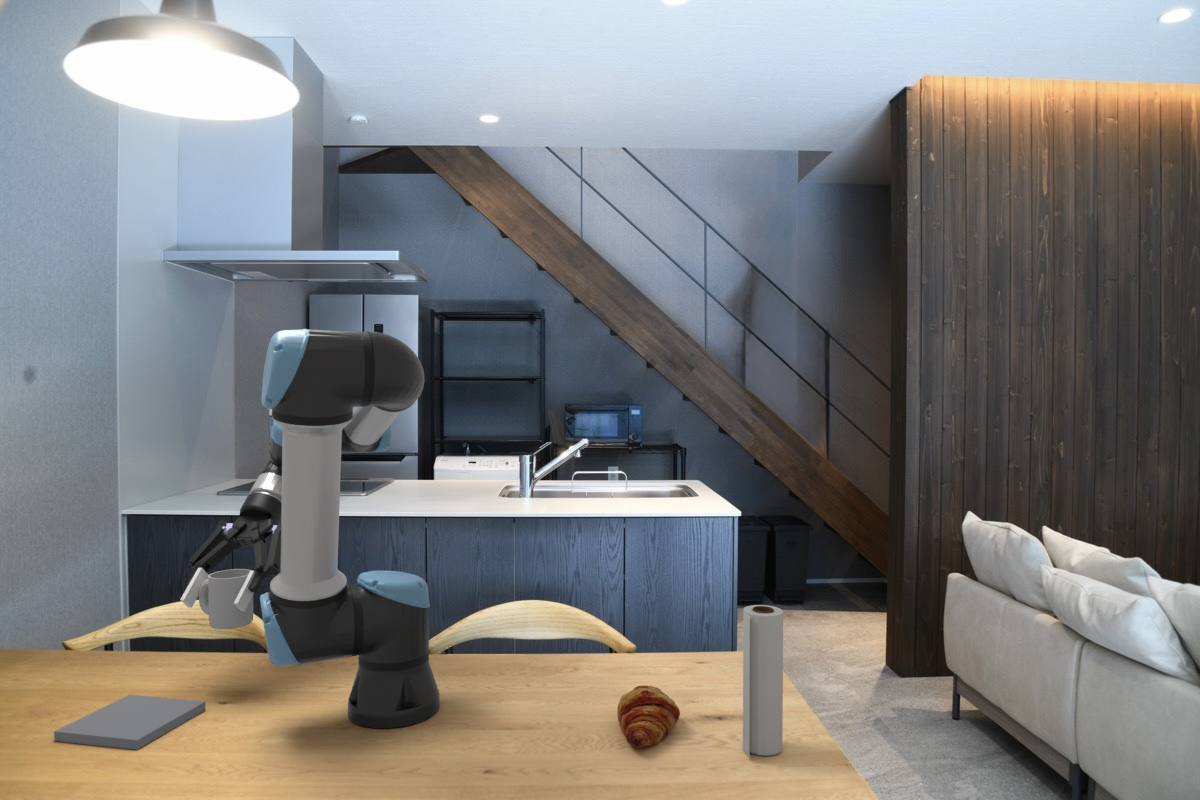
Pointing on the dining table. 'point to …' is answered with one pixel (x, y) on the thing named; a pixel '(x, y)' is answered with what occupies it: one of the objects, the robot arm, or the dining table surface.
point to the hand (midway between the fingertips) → (212, 605)
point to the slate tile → (130, 722)
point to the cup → (225, 599)
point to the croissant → (646, 715)
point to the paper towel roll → (762, 680)
